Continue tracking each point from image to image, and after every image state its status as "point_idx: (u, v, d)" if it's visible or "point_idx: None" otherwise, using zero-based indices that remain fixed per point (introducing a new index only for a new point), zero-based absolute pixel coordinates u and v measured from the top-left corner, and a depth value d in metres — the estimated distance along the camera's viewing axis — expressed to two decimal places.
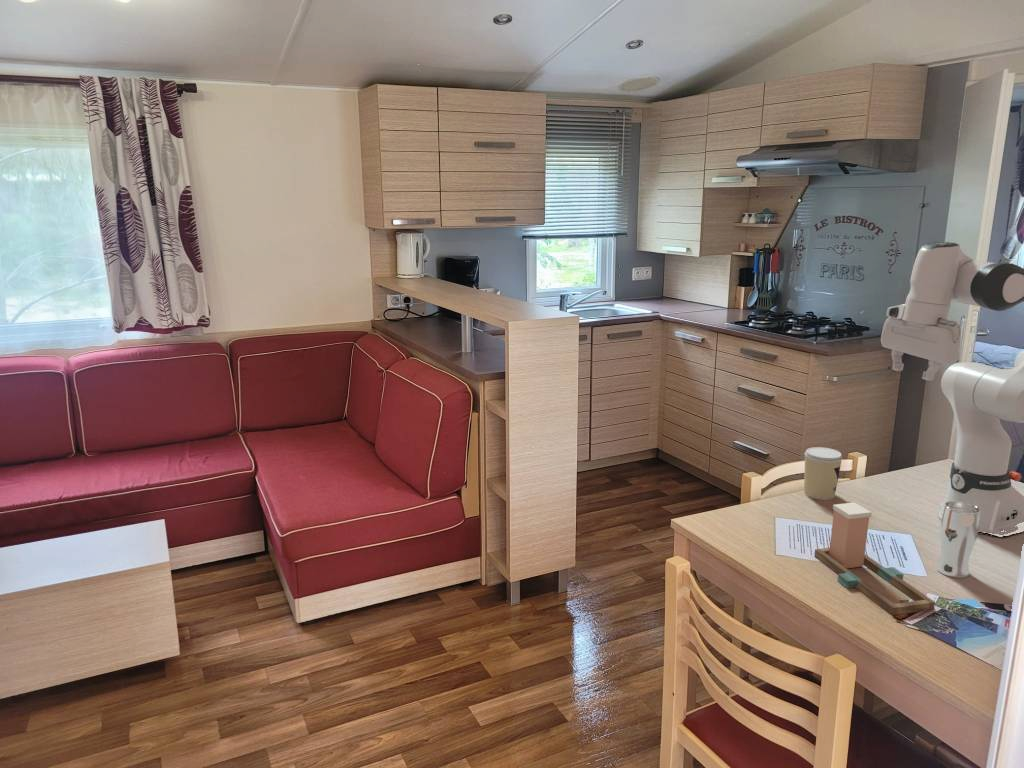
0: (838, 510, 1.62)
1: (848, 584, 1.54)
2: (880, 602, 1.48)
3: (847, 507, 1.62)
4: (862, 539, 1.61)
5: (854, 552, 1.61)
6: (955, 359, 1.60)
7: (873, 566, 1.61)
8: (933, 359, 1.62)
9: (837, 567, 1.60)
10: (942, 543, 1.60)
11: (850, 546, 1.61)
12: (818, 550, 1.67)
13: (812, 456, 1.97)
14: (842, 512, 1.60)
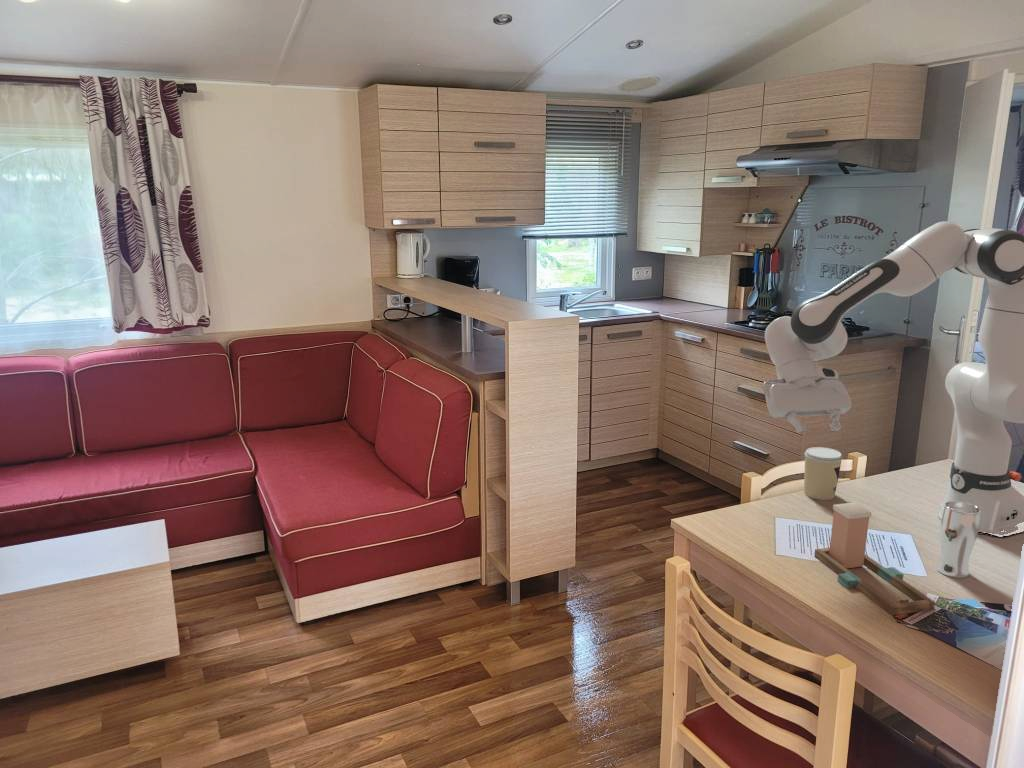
0: (838, 510, 1.62)
1: (848, 584, 1.54)
2: (880, 602, 1.48)
3: (847, 507, 1.62)
4: (862, 539, 1.61)
5: (854, 552, 1.61)
6: (774, 408, 1.71)
7: (873, 566, 1.61)
8: None
9: (837, 567, 1.60)
10: (942, 543, 1.60)
11: (850, 546, 1.61)
12: (818, 550, 1.67)
13: (812, 456, 1.97)
14: (842, 512, 1.60)
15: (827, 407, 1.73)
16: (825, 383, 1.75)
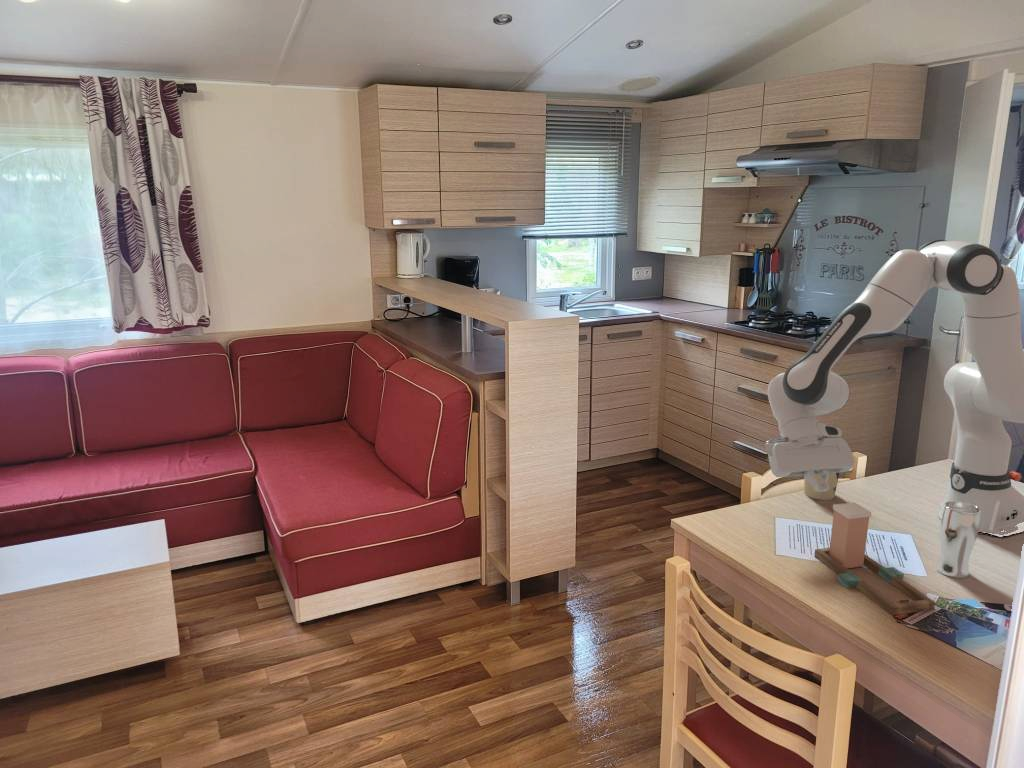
0: (838, 510, 1.62)
1: (848, 584, 1.54)
2: (880, 602, 1.48)
3: (847, 507, 1.62)
4: (862, 539, 1.61)
5: (854, 552, 1.61)
6: (777, 468, 1.71)
7: (873, 566, 1.61)
8: None
9: (837, 567, 1.60)
10: (942, 543, 1.60)
11: (850, 546, 1.61)
12: (818, 550, 1.67)
13: None
14: (842, 512, 1.60)
15: (830, 466, 1.72)
16: (828, 442, 1.75)
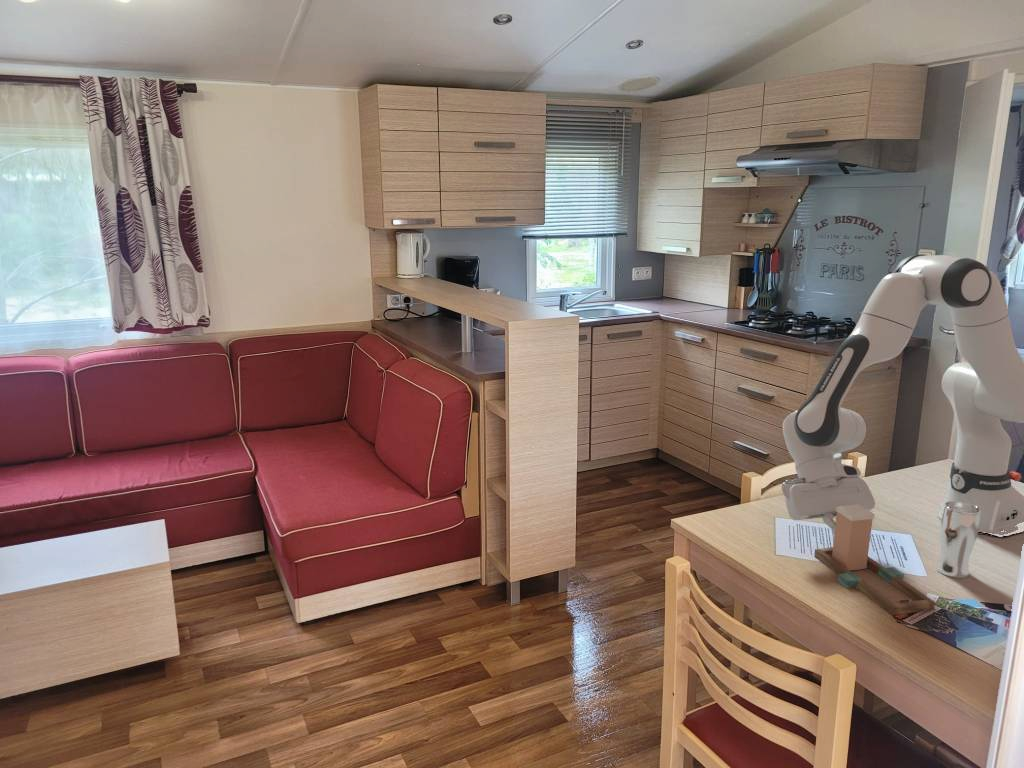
0: (841, 512, 1.61)
1: (848, 584, 1.54)
2: (880, 602, 1.48)
3: (850, 509, 1.61)
4: (865, 541, 1.60)
5: (857, 554, 1.60)
6: (794, 512, 1.65)
7: (873, 566, 1.61)
8: None
9: (837, 567, 1.60)
10: (942, 543, 1.60)
11: (853, 548, 1.60)
12: (818, 550, 1.67)
13: None
14: (845, 514, 1.59)
15: None
16: (847, 482, 1.69)
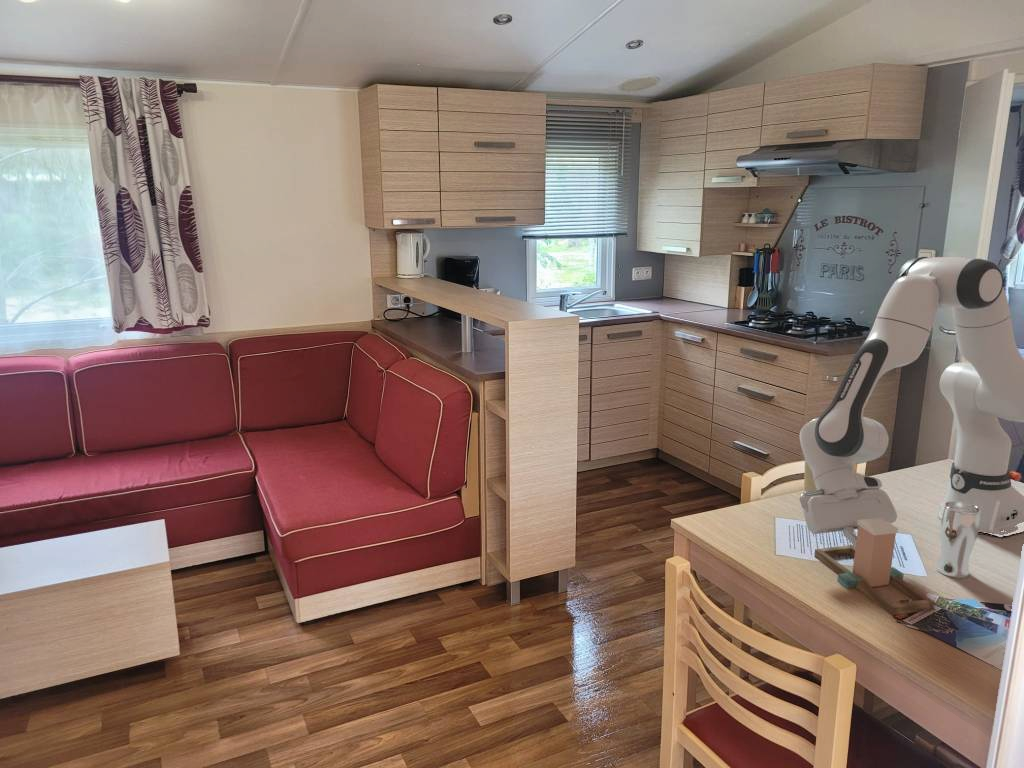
0: (863, 526, 1.54)
1: (848, 584, 1.54)
2: (880, 602, 1.48)
3: (872, 522, 1.54)
4: (888, 556, 1.53)
5: (879, 570, 1.54)
6: (813, 525, 1.59)
7: None
8: None
9: (837, 567, 1.60)
10: (942, 543, 1.60)
11: (875, 564, 1.53)
12: (818, 550, 1.67)
13: None
14: (867, 528, 1.53)
15: None
16: (867, 494, 1.63)
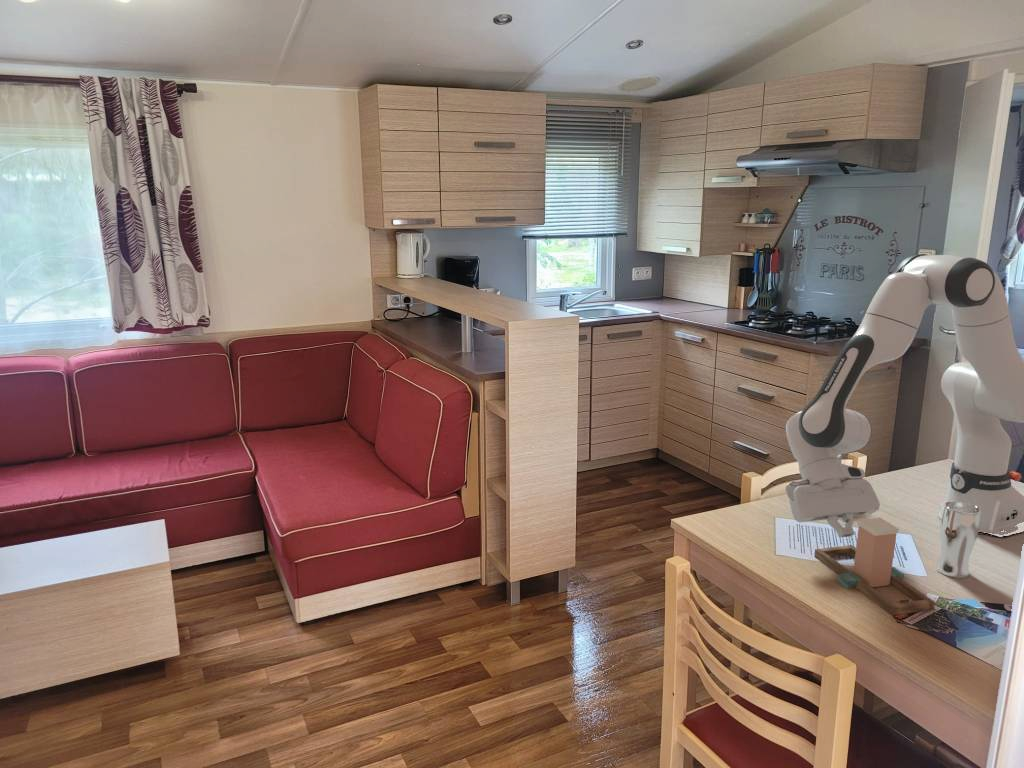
0: (863, 526, 1.54)
1: (848, 584, 1.54)
2: (880, 602, 1.48)
3: (873, 523, 1.54)
4: (889, 557, 1.53)
5: (880, 570, 1.54)
6: (799, 514, 1.64)
7: None
8: None
9: (837, 567, 1.60)
10: (942, 543, 1.60)
11: (876, 564, 1.53)
12: (818, 550, 1.67)
13: None
14: (868, 529, 1.53)
15: (854, 510, 1.65)
16: (851, 484, 1.68)
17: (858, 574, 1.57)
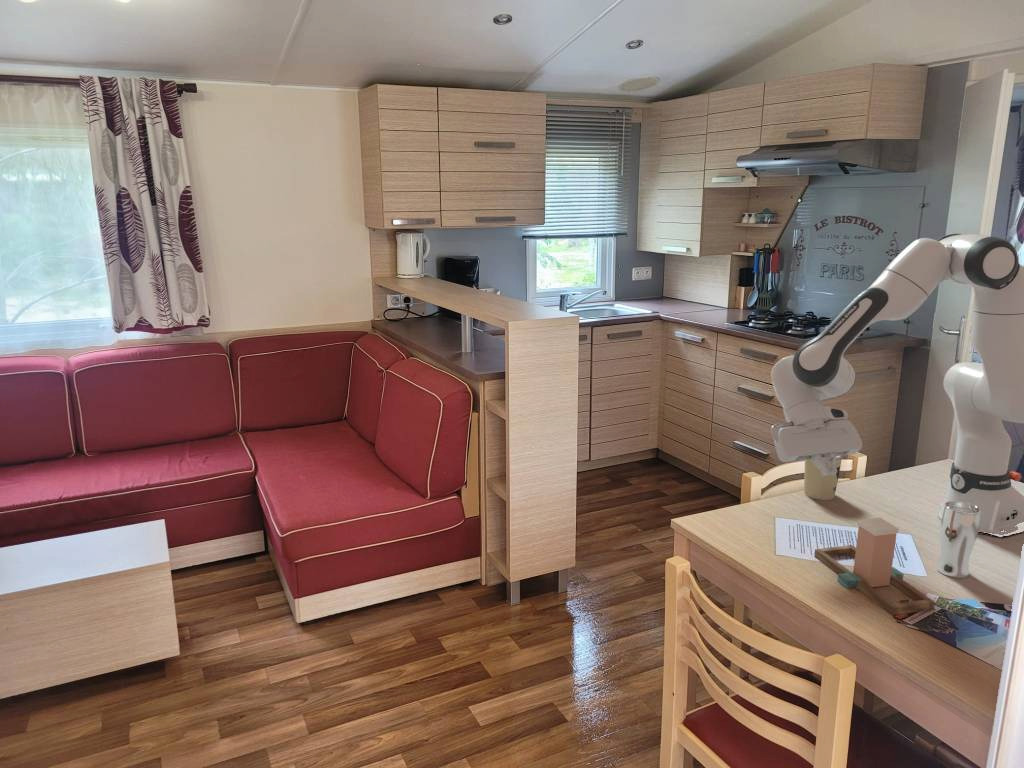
0: (863, 526, 1.54)
1: (848, 584, 1.54)
2: (880, 602, 1.48)
3: (873, 523, 1.54)
4: (889, 557, 1.53)
5: (880, 570, 1.54)
6: (783, 453, 1.69)
7: None
8: None
9: (837, 567, 1.60)
10: (942, 543, 1.60)
11: (876, 564, 1.53)
12: (818, 550, 1.67)
13: None
14: (868, 529, 1.53)
15: (837, 449, 1.70)
16: (834, 424, 1.73)
17: (858, 574, 1.57)
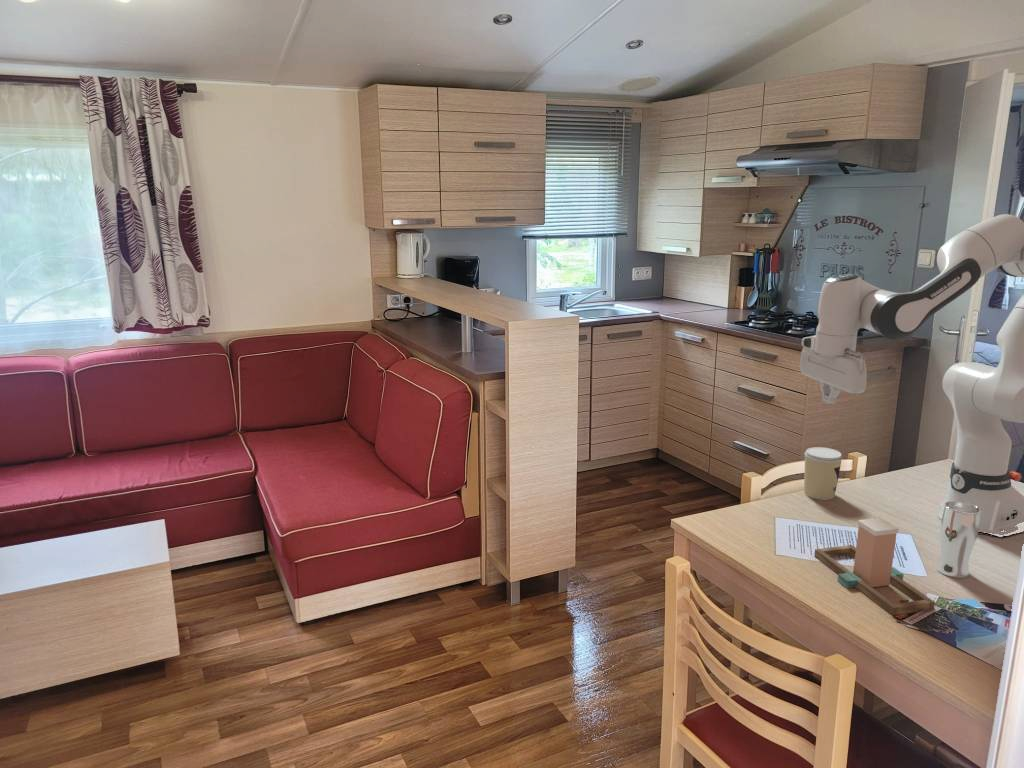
0: (863, 526, 1.54)
1: (848, 584, 1.54)
2: (880, 602, 1.48)
3: (873, 523, 1.54)
4: (889, 557, 1.53)
5: (880, 570, 1.54)
6: (863, 388, 1.66)
7: None
8: (843, 389, 1.68)
9: (837, 567, 1.60)
10: (942, 543, 1.60)
11: (876, 564, 1.53)
12: (818, 550, 1.67)
13: (812, 456, 1.97)
14: (868, 529, 1.53)
15: None
16: None
17: (858, 574, 1.57)
